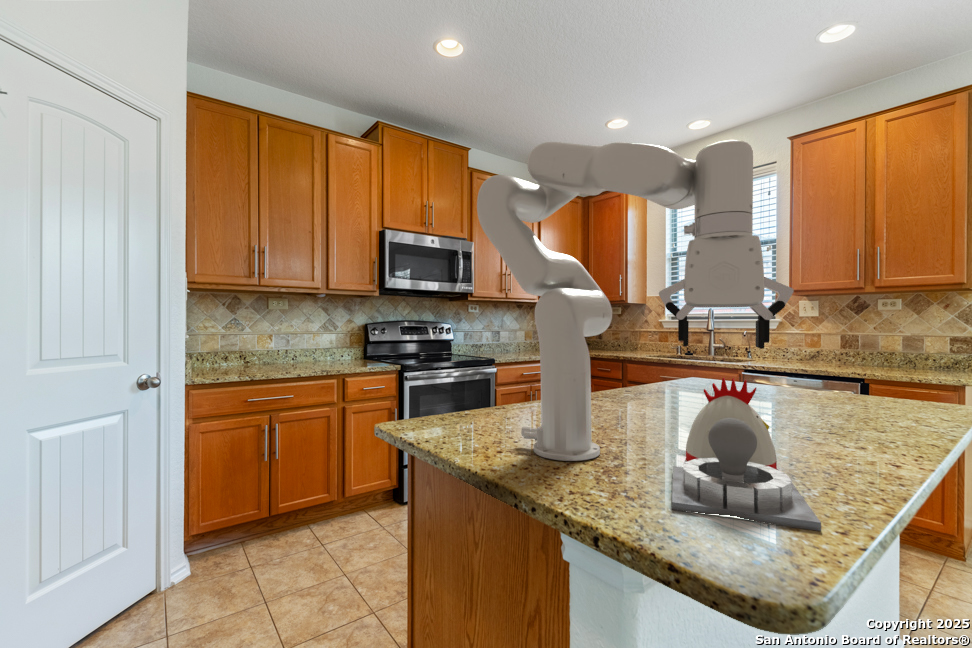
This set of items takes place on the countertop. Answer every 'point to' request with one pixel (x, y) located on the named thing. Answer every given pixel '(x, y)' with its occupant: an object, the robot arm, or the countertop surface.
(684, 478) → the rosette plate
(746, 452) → the light bulb
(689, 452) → the kitchen timer
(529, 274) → the robot arm
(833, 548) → the countertop surface
